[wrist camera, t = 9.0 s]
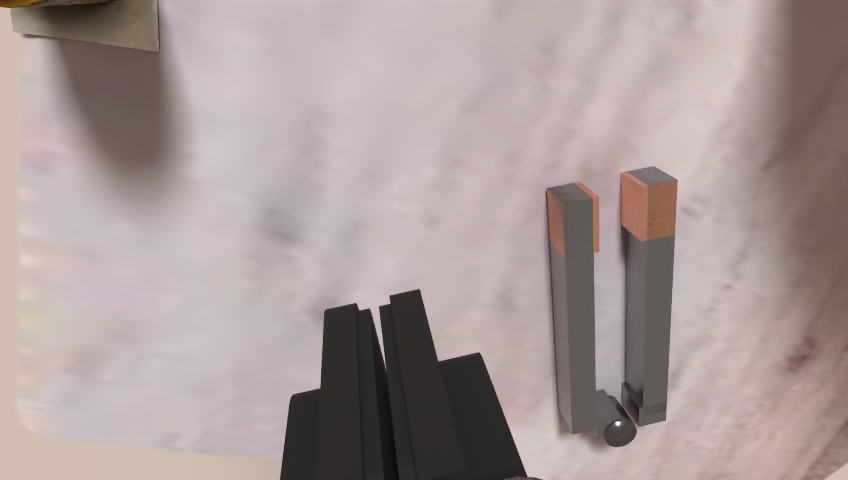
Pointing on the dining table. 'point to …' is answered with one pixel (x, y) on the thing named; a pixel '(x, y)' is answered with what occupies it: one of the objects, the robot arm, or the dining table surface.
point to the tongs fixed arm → (648, 289)
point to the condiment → (89, 21)
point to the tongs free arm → (579, 316)
